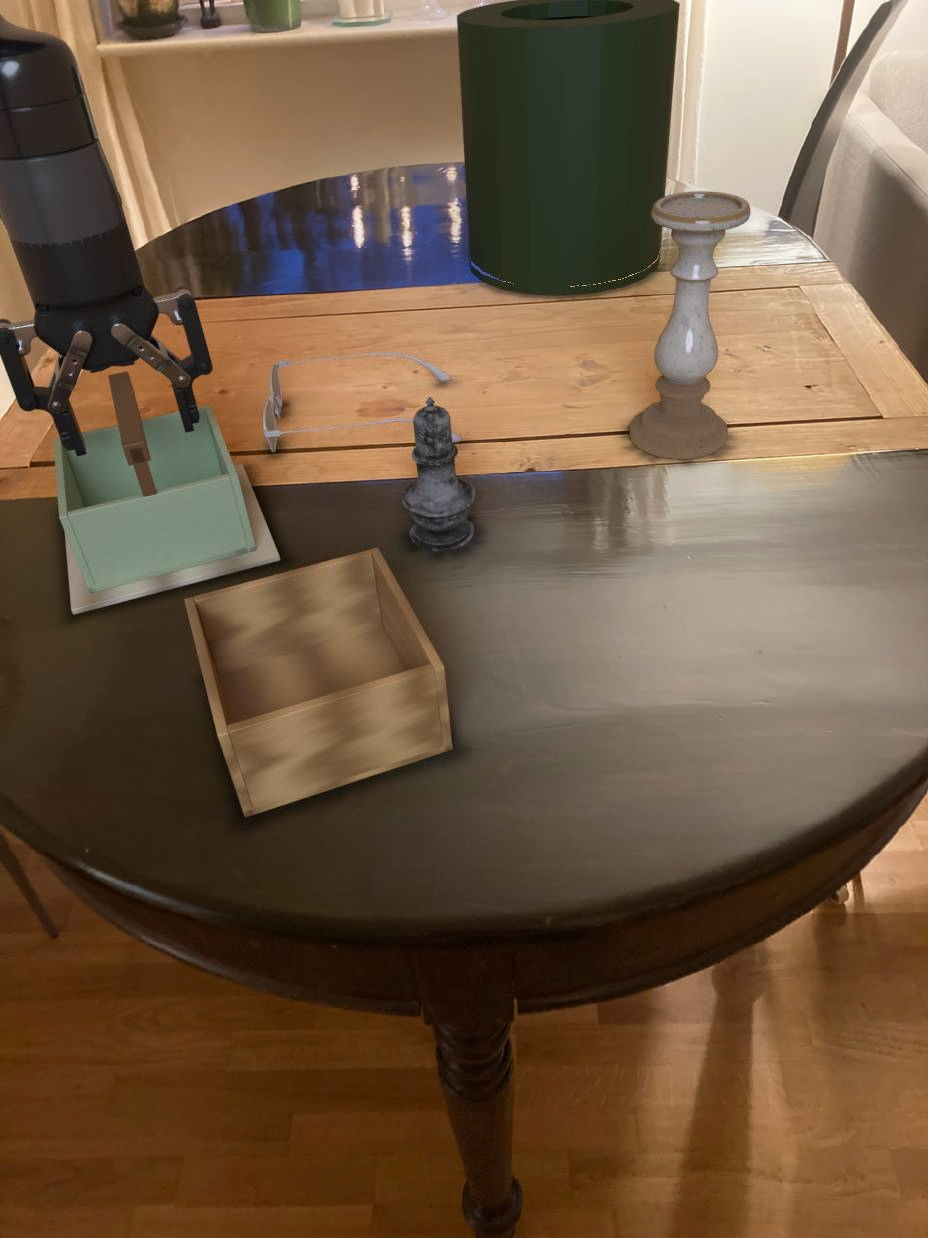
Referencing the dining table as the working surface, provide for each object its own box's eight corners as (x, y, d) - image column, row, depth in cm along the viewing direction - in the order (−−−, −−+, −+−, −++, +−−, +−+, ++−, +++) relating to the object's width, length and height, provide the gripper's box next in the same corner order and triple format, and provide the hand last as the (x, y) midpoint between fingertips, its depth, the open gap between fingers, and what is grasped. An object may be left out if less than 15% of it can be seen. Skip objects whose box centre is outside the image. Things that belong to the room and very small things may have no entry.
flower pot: (537, 311, 109) (535, 35, 92) (435, 255, 127) (417, 14, 109) (700, 264, 118) (728, 4, 100) (585, 217, 136) (591, -12, 118)
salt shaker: (394, 547, 74) (376, 410, 66) (422, 507, 78) (408, 375, 70) (463, 558, 72) (453, 420, 64) (487, 518, 76) (480, 383, 69)
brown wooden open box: (245, 818, 54) (217, 736, 49) (209, 678, 63) (183, 598, 59) (452, 749, 57) (444, 666, 52) (389, 626, 66) (378, 546, 62)
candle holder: (722, 465, 80) (755, 223, 68) (621, 455, 83) (635, 219, 70) (730, 418, 87) (762, 189, 74) (637, 410, 89) (652, 186, 76)
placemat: (73, 615, 70) (71, 610, 69) (64, 510, 81) (62, 505, 81) (280, 560, 73) (279, 555, 73) (243, 467, 85) (242, 463, 85)
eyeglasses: (279, 392, 97) (272, 356, 94) (450, 376, 97) (447, 340, 95) (268, 466, 85) (260, 427, 82) (463, 447, 86) (460, 408, 83)
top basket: (89, 593, 71) (37, 465, 63) (80, 510, 80) (34, 389, 73) (256, 550, 74) (225, 423, 67) (228, 474, 83) (198, 356, 76)
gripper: (-52, 255, 57) (41, 484, 67) (181, 216, 60) (236, 439, 71) (-47, 223, 62) (39, 439, 73) (167, 189, 66) (219, 400, 76)
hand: (136, 439), depth 72 cm, fingers open, 7 cm apart
